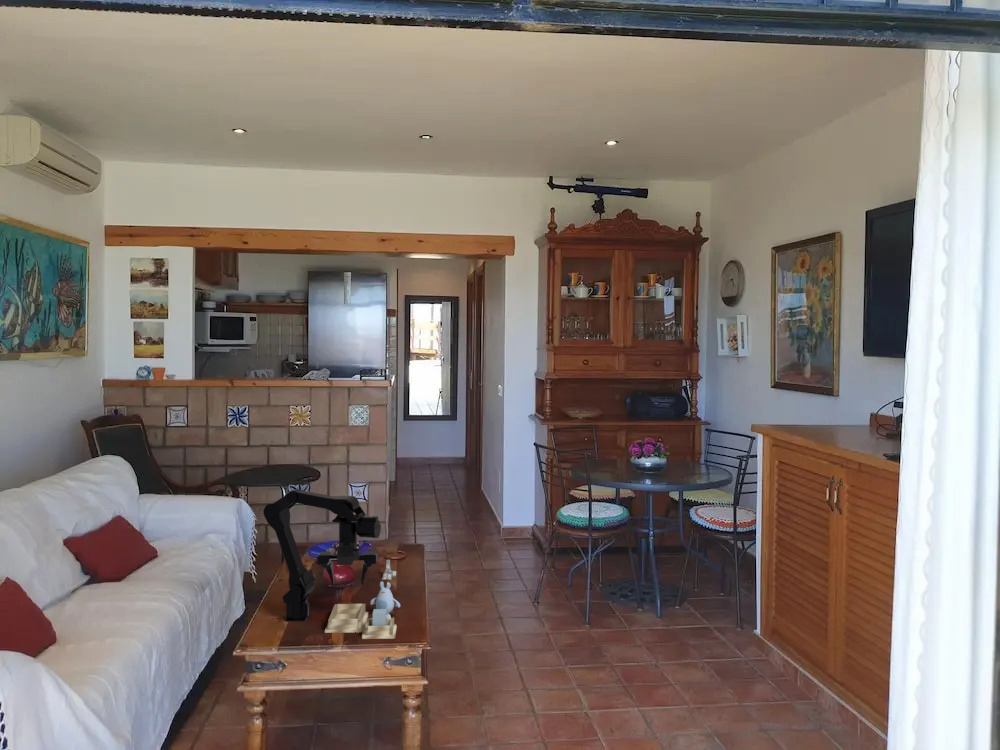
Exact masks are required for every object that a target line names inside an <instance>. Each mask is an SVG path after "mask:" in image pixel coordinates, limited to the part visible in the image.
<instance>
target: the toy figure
mask: <svg viewBox="0 0 1000 750" xmlns="http://www.w3.org/2000/svg"><path fill="white" fill-rule="evenodd" d="M391 586H392V585H391V583H390V582H389V581H388V582H387V583H386V587H385V583H384V581H380V582H379V587H380V589H379V592H378V594H377V596H376V597H374V598H371V600H370V603H369V604H370V605H371V606H372V605H375V609H387V618H392V617H391V612H392V611H393V609H394V608H395V607H396V608H399V609H400V608H401V603H400V602H399V601H398V600H396V598H394V596H393V593H392V591H391V589H390V588H391Z"/></svg>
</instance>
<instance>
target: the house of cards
mask: <svg viewBox="0 0 1000 750" xmlns="http://www.w3.org/2000/svg"><path fill="white" fill-rule="evenodd" d="M385 561H386V563H385V564H386V567H385V568H386V569H385V570H384V572H383V574H382V578H381V580H382V581H383V580H387V581H388V580H389V581H390V580H391V581H392V579H393V578H396V577H397V571H396V570H392V569H391V560H390V559H386V560H385Z"/></svg>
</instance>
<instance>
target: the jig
mask: <svg viewBox="0 0 1000 750" xmlns="http://www.w3.org/2000/svg"><path fill="white" fill-rule="evenodd" d="M368 613H369V611H366V603H335V604H334V605H333V608H332V611H331V613H330V615H329V618H328V620H327V621H328V622H327V625H326V627H325V628H324V629H325V630H324V633H325V634H327V633H330V634H331V633H333V634H336V633H337V634H339V633H342V634H345V633H355V632H356V633H362V634H361V639H362V640H370V639H373V640H374V639H377V640H378V639H381V640H384V639H385V640H386V639H387V640H389V639H391V640H392V639H396V635H397V634H396V632H397V628H398V627H397V624H395V617H391V618H387V626H373V617H369V614H370V613H369V614H368Z"/></svg>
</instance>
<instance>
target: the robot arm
mask: <svg viewBox="0 0 1000 750" xmlns="http://www.w3.org/2000/svg"><path fill="white" fill-rule="evenodd" d="M296 504H300V505H305V506H311V507H315V508H319V509H323V510H324V509H325V510H328V511H330V512H331V513H333V514H335V515H336V517H335V518H334V519H332V521H331V522H332V523H338V546H337V547H338V548H337V550H336V554H333V551H320V552H319V553H318V555H317V556H316V564H317V565H319V566H321V568H325V570H326V572H327V574H328V576H329V579H330V582H331V584H332V585H334V584H335V573H334V572H335V571H334V561H335V562H336V563H337V566H345V565H346V566H352V565H353V563H354V562H355V561H356V562H357V561H363V563H362V571H361V572H362V573H361V578H360V580H361V581H360V582H361V583H360V584H361V585H363V584H364V580H365V578H366V574H367V572H368V570H369V568H370V567H373V565H376V564H377V562H378V561H379V560H378V556H379V554H378V552H377V551H376V550H368V551H367V550H365V551H364V554H363V553H360V552H361V551H360V548H358V544H357V543H358V542H357V541H358V536H359V538H366V539H367V538H368V539H370V538H371V539H378V538H380V534H381V533H382V531H381V530H382V525H381V522H380V520H379V516H377V515H376V516H375V515H373V516H370V515H369V516H368V515H367V514H366V513H365V511H364V509H362V506H361V505H360V502H359V499H358V497H356V496H354V495H339V496H338V495H336V496H335V495H334V496H333V495H327V494H323V493H318V492H312V491H307V490H303V489H301V488H295V489H293V490H290V491H288V492H287V493H286V494H285V495H283V496H281V498H279V499H277V500H275V501H273V502H270V503H267V504H266V505H265V507H264V509H263V512H262V513H263V516H264V519H265V520H266V523H267V524H268V525H269V526H270V527H271V528H272V529H273V531H274V532H275V534H276V538H277V541H278V543H279V545H280V546H279V547H280V550H281V552H282V554H283V558H284V561H285V564H286V566H287V569H288V587H289V589H288V591H286V593H284V595H283V596H282V600H283V603H284V604H285V609H286V610H285V619H284V622H305V621H306V620H307V619H308V617H309V615H310V602H308V597H309V596H310V595H311V593H312V592H313V591H314V589H315V587H316V583H315V581H316V580H317V579H316V577H315V576H314V573H313V570H312V569H311V568H310V569H307V568H306V567H305V566H304V564H303V561H302V557H301V555H300V552H299V549H298V547H297V543H296V540H295V538H294V535H293V532H292V528H291V526H290V524H291V523H290V522H291V512H290V509H292V508H293V507H294V506H295V505H296Z"/></svg>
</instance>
